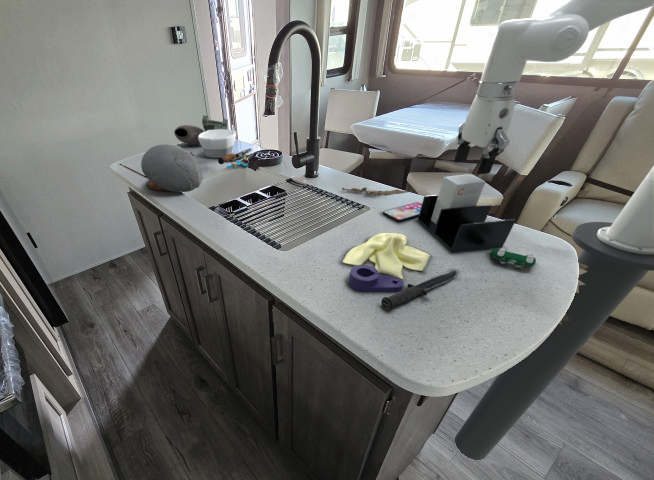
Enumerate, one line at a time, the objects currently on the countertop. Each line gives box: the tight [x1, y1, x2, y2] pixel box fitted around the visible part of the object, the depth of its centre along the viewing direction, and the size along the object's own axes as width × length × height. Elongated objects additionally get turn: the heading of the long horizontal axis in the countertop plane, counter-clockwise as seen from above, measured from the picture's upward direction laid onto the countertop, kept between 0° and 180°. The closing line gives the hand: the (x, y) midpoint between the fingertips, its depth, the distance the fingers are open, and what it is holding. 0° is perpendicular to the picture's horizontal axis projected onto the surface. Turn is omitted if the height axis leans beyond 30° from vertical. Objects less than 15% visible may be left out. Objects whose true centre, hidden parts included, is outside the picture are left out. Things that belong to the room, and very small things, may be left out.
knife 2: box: [380, 270, 458, 311], centre depth 72 cm, size 24×5×3 cm, turn 114°
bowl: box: [198, 129, 237, 159], centre depth 157 cm, size 18×18×9 cm
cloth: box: [342, 232, 431, 280], centre depth 82 cm, size 22×19×6 cm
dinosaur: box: [229, 147, 255, 163], centre depth 152 cm, size 4×20×7 cm
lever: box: [348, 264, 405, 293], centre depth 74 cm, size 12×6×3 cm, turn 77°
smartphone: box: [382, 202, 422, 222], centre depth 102 cm, size 8×1×15 cm
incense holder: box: [119, 163, 170, 192], centre depth 129 cm, size 21×30×11 cm
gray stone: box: [140, 143, 203, 193], centre depth 123 cm, size 23×22×10 cm
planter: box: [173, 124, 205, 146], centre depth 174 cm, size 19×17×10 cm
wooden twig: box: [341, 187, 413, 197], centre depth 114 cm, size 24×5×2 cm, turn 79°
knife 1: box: [217, 148, 250, 165], centre depth 155 cm, size 25×3×5 cm
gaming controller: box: [490, 246, 537, 269], centre depth 78 cm, size 9×4×6 cm
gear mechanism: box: [226, 150, 249, 169], centre depth 144 cm, size 20×5×9 cm
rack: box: [416, 194, 517, 254], centre depth 89 cm, size 14×18×8 cm
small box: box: [431, 173, 486, 224], centre depth 90 cm, size 8×6×13 cm
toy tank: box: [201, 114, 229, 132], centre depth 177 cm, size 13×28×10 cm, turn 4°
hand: (470, 167), depth 84 cm, fingers open, 9 cm apart
